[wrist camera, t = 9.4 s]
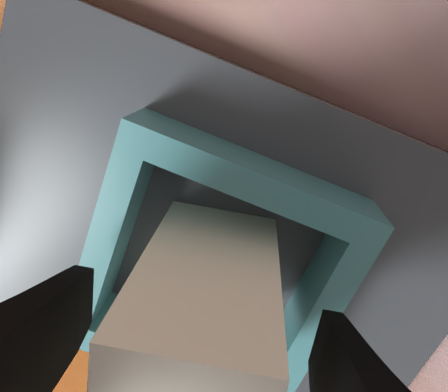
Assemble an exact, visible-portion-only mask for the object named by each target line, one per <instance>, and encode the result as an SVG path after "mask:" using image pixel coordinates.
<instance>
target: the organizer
mask: <svg viewBox="0 0 448 392" xmlns="http://www.w3.org/2000/svg"><path fill="white" fill-rule="evenodd" d="M173 201H177V202H182V203H188V204H193V205H199V206H204V207H210V208H215V209H221V210H227V211H232V212H238V213H243V214H249V215H254V216H260V217H265V218H271V219H276V227H277V239H278V251H279V262H280V274H281V286H282V297H283V309H284V321H285V333H286V344H287V356H288V368H289V379H290V382H289V385H288V389H287V392H310V389H309V370H308V360H309V356H310V353H311V349H312V346H313V342H314V339H315V335H316V332H317V328H318V324H319V321H320V317H321V314H322V310H323V309H325V310H331V311H337V312H342V313H344V315H345V316H346V317H347V318H348V319H349V321H350V322H351V323H352V324H353V326H354V327H355V328H356V329H357V331H358V332H359V333H360V334H361V336H362V337H363V338H364V339H365V340H366V342H367V343H368V344H369V345H370V347H371V348H372V349H373V350H374V351H375V353H376V354H377V355H378V356H379V357H380V358H381V360H382V361H383V362H384V363H385V364H386V365H387V366H388V368H389V369H390V370H391V371H392V372H393V373H394V374H395V375H396V376H397V377H398V378H399V379H400V380H401V382H402V383H403V384H404V385H405V386H406V387H408V386H409V385H410V383H411V382H412V381H413V379H414V378H415V377H416V375H417V374H418V373H419V371H420V370H421V369H422V367H423V366H424V365H425V363H426V362H427V361H428V359H429V358H430V357H431V355H432V354H433V353H434V351H435V350H436V349H437V347H438V346H439V345H440V343H441V342H442V341H443V339H444V338H445V337H446V335H447V334H448V152H446V151H443V150H441V149H438V148H436V147H434V146H431V145H429V144H426V143H424V142H422V141H419V140H417V139H414V138H412V137H410V136H407V135H405V134H402V133H400V132H398V131H395V130H393V129H390V128H388V127H385V126H383V125H381V124H378V123H376V122H373V121H371V120H369V119H366V118H364V117H361V116H359V115H357V114H354V113H352V112H349V111H347V110H345V109H342V108H340V107H337V106H335V105H333V104H330V103H328V102H325V101H323V100H321V99H318V98H316V97H313V96H311V95H308V94H306V93H304V92H301V91H299V90H296V89H294V88H292V87H289V86H287V85H284V84H282V83H280V82H277V81H275V80H272V79H270V78H268V77H265V76H263V75H260V74H258V73H256V72H253V71H251V70H248V69H246V68H244V67H241V66H239V65H236V64H234V63H231V62H229V61H227V60H224V59H222V58H219V57H217V56H215V55H212V54H210V53H207V52H205V51H203V50H200V49H198V48H195V47H193V46H191V45H188V44H186V43H183V42H181V41H179V40H176V39H174V38H171V37H169V36H166V35H164V34H162V33H159V32H157V31H154V30H152V29H150V28H147V27H145V26H142V25H140V24H138V23H135V22H133V21H130V20H128V19H126V18H123V17H121V16H118V15H116V14H114V13H111V12H109V11H106V10H104V9H102V8H99V7H97V6H94V5H92V4H89V3H87V2H85V1H82V0H6V3H5V9H4V16H3V22H2V28H1V34H0V302H3V301H5V300H7V299H9V298H11V297H13V296H15V295H18V294H20V293H22V292H24V291H26V290H27V289H29V288H31V287H33V286H35V285H37V284H39V283H41V282H43V281H45V280H47V279H49V278H50V277H52V276H54V275H56V274H58V273H60V272H62V271H64V270H66V269H68V268H70V267H72V266H74V265H79V266H84V267H90V268H94V285H93V312H92V323H91V325H90V328H89V330H88V332H87V334H86V336H85V338H84V340H83V342H82V344H81V346H80V348H79V349H81V350H83V351H86V352H89V342H90V341H91V339H92V337H93V336H94V334H95V332H96V331H97V329H98V327H99V326H100V324H101V322H102V321H103V319H104V317H105V316H106V314H107V312H108V310H109V309H110V307H111V305H112V304H113V302H114V300H115V299H116V297H117V295H118V294H119V292H120V290H121V289H122V287H123V285H124V284H125V282H126V280H127V279H128V277H129V275H130V274H131V272H132V270H133V268H134V267H135V265H136V263H137V262H138V260H139V258H140V257H141V255H142V253H143V252H144V250H145V248H146V247H147V245H148V243H149V242H150V240H151V238H152V237H153V235H154V233H155V231H156V230H157V228H158V226H159V225H160V223H161V221H162V220H163V218H164V216H165V215H166V213H167V211H168V210H169V208H170V206H171V205H172V203H173Z"/></svg>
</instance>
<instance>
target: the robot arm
mask: <svg viewBox="0 0 448 392" xmlns="http://www.w3.org/2000/svg"><path fill="white" fill-rule="evenodd" d="M93 285H94V268H90V267H84V266H79V265H74V266H72V267H70V268H68V269H66V270H64V271H62V272H60V273H58V274H56V275H54V276H52V277H50V278H49V279H47V280H45V281H43V282H41V283H39V284H37V285H35V286H33V287H31V288H29V289H27V290H26V291H24V292H22V293H20V294H18V295H15V296H13V297H11V298H9V299H7V300H5V301H3V302H0V392H52V391H53V389H54V388H55V386H56V385H57V383H58V382H59V380H60V379H61V377H62V376H63V374H64V372H65V371H66V369H67V368H68V366H69V365H70V363H71V362H72V360H73V358H74V357H75V355H76V354H77V352H78V350H79V348H80V346H81V344H82V342H83V340H84V338H85V336H86V334H87V332H88V330H89V328H90V325H91V323H92V312H93ZM308 370H309V389H310V392H411V391H410V390H409V389H408V388H407V387H406V386H405V385H404V384H403V383H402V382H401V380H400V379H399V378H398V377H397V376H396V375H395V374H394V373H393V372H392V371H391V370H390V369H389V368H388V366H387V365H386V364H385V363H384V362H383V361H382V360H381V358H380V357H379V356H378V355H377V354H376V353H375V351H374V350H373V349H372V348H371V347H370V345H369V344H368V343H367V342H366V340H365V339H364V338H363V337H362V336H361V334H360V333H359V332H358V331H357V329H356V328H355V327H354V326H353V324H352V323H351V322H350V321H349V319H348V318H347V317H346V316H345V315H344V313H342V312H337V311H331V310H325V309H323V310H322V314H321V317H320V321H319V324H318V328H317V332H316V335H315V339H314V342H313V346H312V349H311V353H310V356H309V360H308Z"/></svg>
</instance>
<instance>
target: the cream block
mask: <svg viewBox="0 0 448 392" xmlns="http://www.w3.org/2000/svg"><path fill="white" fill-rule="evenodd" d="M289 382H290V379H289V368H288V356H287V344H286V333H285V321H284V309H283V297H282V286H281V274H280V262H279V251H278V239H277V227H276V219H271V218H265V217H260V216H254V215H249V214H243V213H238V212H232V211H227V210H221V209H215V208H210V207H204V206H199V205H193V204H188V203H182V202H177V201H173V203H172V205H171V206H170V208H169V210H168V211H167V213H166V215H165V216H164V218H163V220H162V221H161V223H160V225H159V226H158V228H157V230H156V231H155V233H154V235H153V237H152V238H151V240H150V242H149V243H148V245H147V247H146V248H145V250H144V252H143V253H142V255H141V257H140V258H139V260H138V262H137V263H136V265H135V267H134V268H133V270H132V272H131V274H130V275H129V277H128V279H127V280H126V282H125V284H124V285H123V287H122V289H121V290H120V292H119V294H118V295H117V297H116V299H115V300H114V302H113V304H112V305H111V307H110V309H109V310H108V312H107V314H106V316H105V317H104V319H103V321H102V322H101V324H100V326H99V327H98V329H97V331H96V332H95V334H94V336H93V337H92V339H91V341H90V342H89V362H88V383H87V392H287V389H288V385H289Z"/></svg>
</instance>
